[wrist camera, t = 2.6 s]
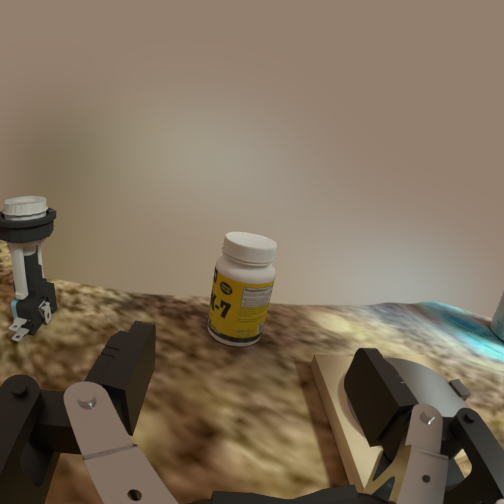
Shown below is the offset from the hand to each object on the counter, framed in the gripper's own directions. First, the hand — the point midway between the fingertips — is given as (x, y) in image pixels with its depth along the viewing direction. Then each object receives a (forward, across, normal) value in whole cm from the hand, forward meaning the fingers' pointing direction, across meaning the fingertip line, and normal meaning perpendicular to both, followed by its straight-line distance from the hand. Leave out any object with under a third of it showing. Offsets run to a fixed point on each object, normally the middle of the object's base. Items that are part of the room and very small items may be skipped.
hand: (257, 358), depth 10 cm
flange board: (+2, -12, +7) cm, 14 cm away
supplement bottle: (+12, 0, +7) cm, 14 cm away
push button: (+7, +17, +7) cm, 20 cm away
